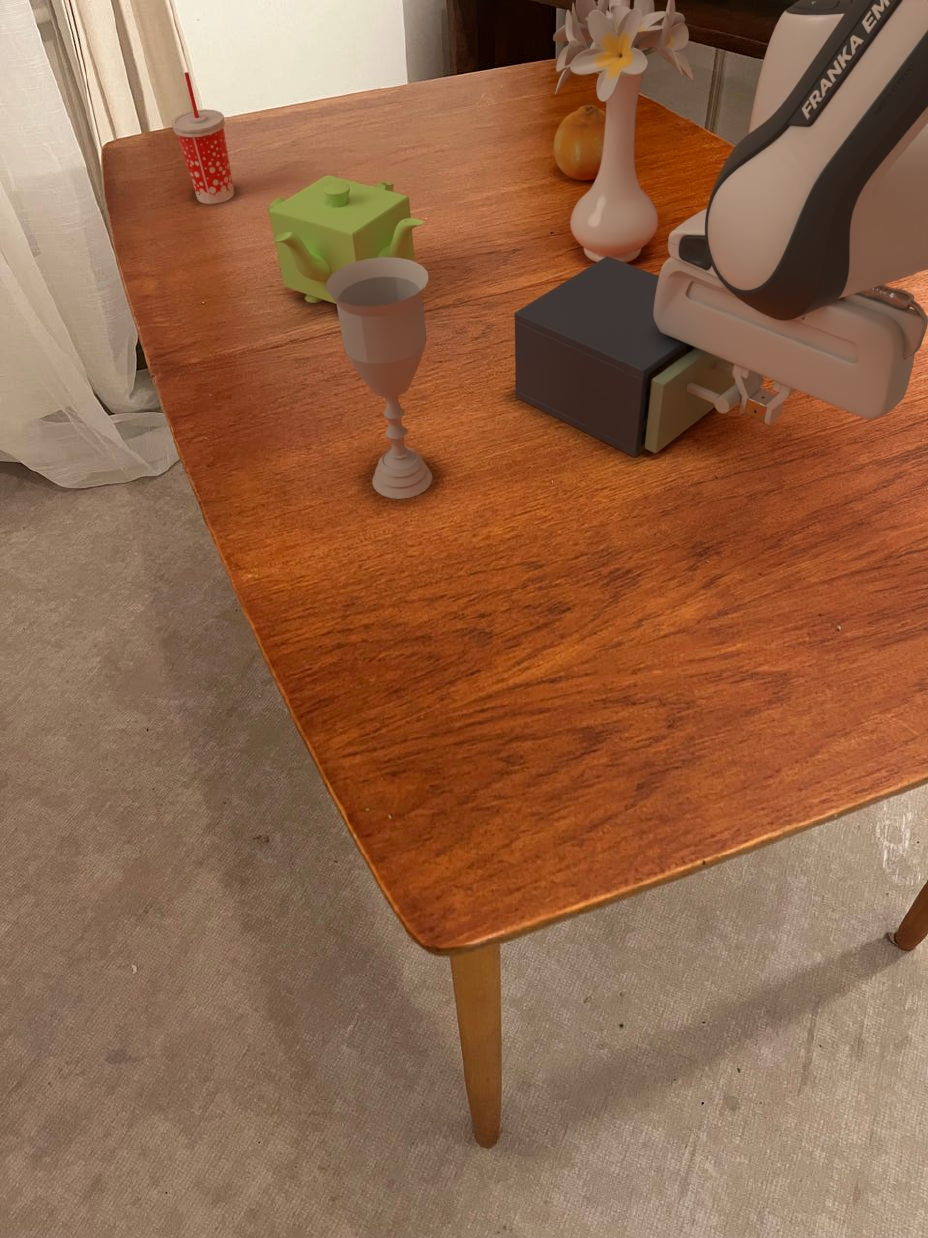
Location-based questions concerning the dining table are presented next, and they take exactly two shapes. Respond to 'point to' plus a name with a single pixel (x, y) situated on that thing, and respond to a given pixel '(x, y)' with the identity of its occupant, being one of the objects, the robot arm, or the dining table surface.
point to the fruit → (580, 143)
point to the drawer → (688, 395)
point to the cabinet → (594, 352)
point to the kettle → (338, 231)
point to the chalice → (386, 352)
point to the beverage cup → (205, 151)
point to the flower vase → (618, 114)
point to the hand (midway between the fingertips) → (759, 415)
